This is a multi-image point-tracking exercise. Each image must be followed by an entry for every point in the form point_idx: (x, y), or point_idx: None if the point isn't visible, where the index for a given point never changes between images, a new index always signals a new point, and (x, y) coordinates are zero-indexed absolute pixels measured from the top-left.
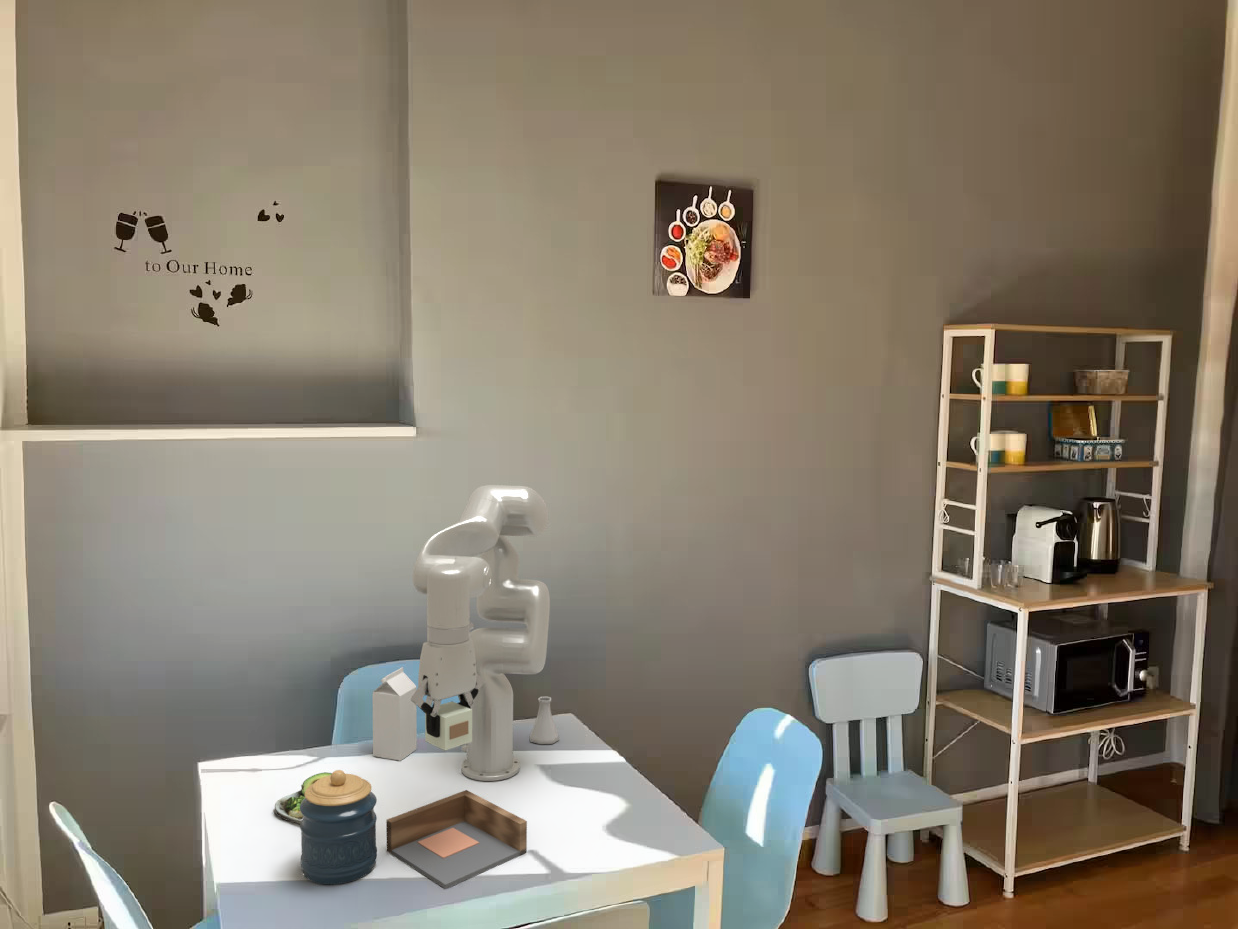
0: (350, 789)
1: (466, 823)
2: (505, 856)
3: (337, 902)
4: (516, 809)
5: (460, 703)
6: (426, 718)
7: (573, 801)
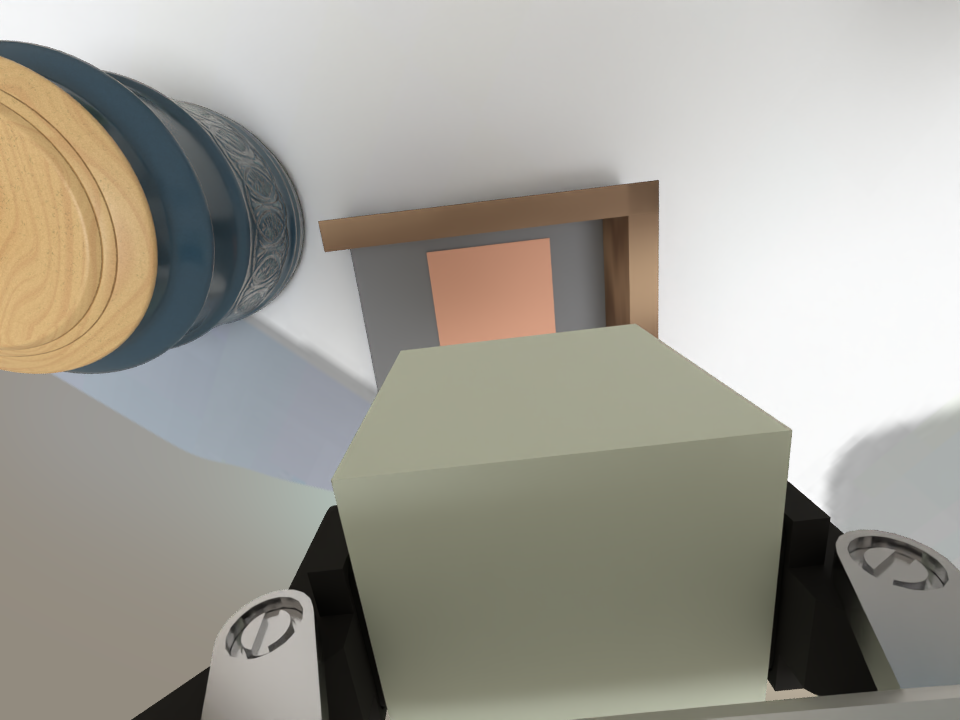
0: (9, 329)
1: (597, 233)
2: None
3: (166, 373)
4: (772, 222)
5: (794, 587)
6: (293, 586)
7: (922, 282)
